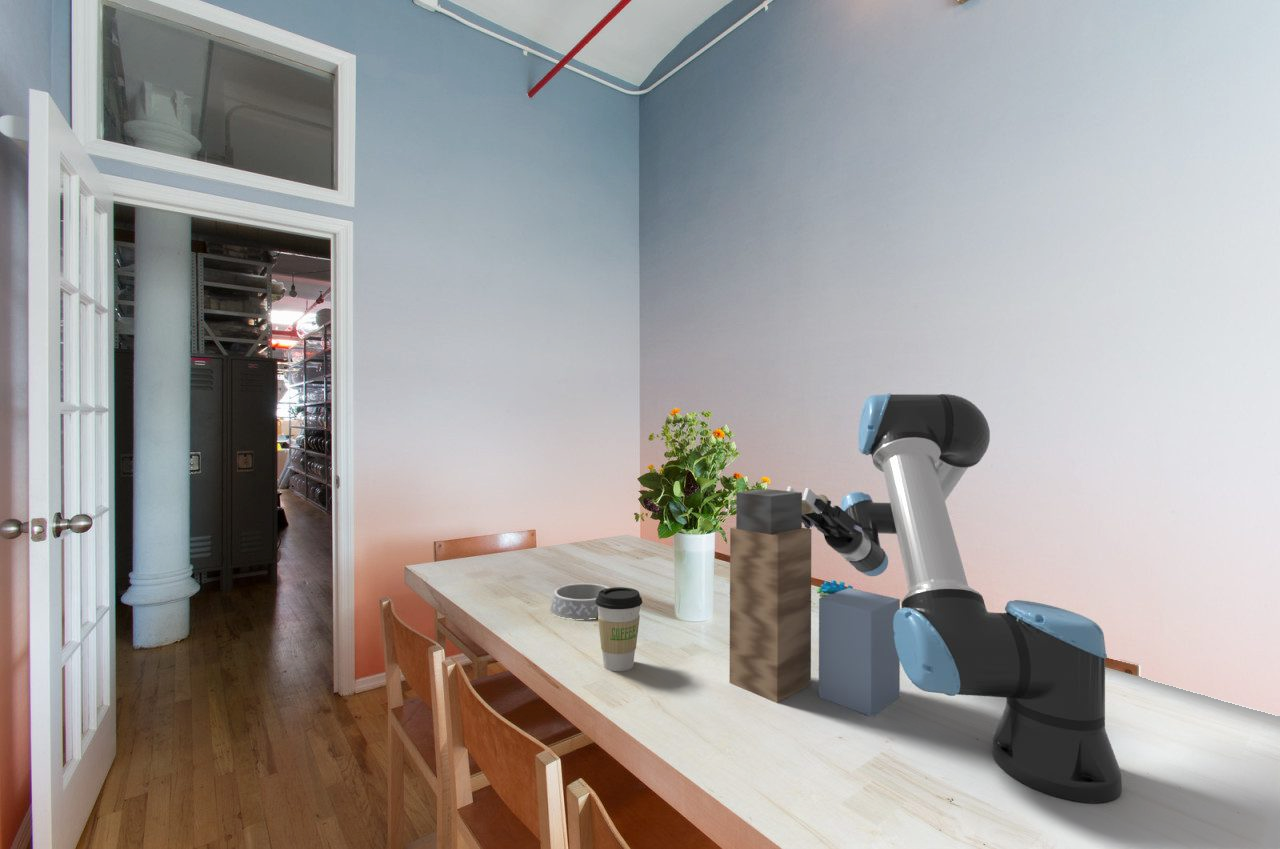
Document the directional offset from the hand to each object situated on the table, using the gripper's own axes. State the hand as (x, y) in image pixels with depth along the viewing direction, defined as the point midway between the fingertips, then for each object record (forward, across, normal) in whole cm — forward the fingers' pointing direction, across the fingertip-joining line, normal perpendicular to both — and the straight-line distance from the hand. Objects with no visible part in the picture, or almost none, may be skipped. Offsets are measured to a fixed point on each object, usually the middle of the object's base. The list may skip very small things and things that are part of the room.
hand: (796, 493), depth 118 cm
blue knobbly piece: (-60, +18, -8) cm, 63 cm away
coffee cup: (+4, +26, -44) cm, 51 cm away
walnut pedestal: (-11, 0, -36) cm, 37 cm away
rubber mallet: (-1, 0, -7) cm, 7 cm away
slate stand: (-17, -14, -32) cm, 39 cm away
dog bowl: (-11, +61, -36) cm, 72 cm away
